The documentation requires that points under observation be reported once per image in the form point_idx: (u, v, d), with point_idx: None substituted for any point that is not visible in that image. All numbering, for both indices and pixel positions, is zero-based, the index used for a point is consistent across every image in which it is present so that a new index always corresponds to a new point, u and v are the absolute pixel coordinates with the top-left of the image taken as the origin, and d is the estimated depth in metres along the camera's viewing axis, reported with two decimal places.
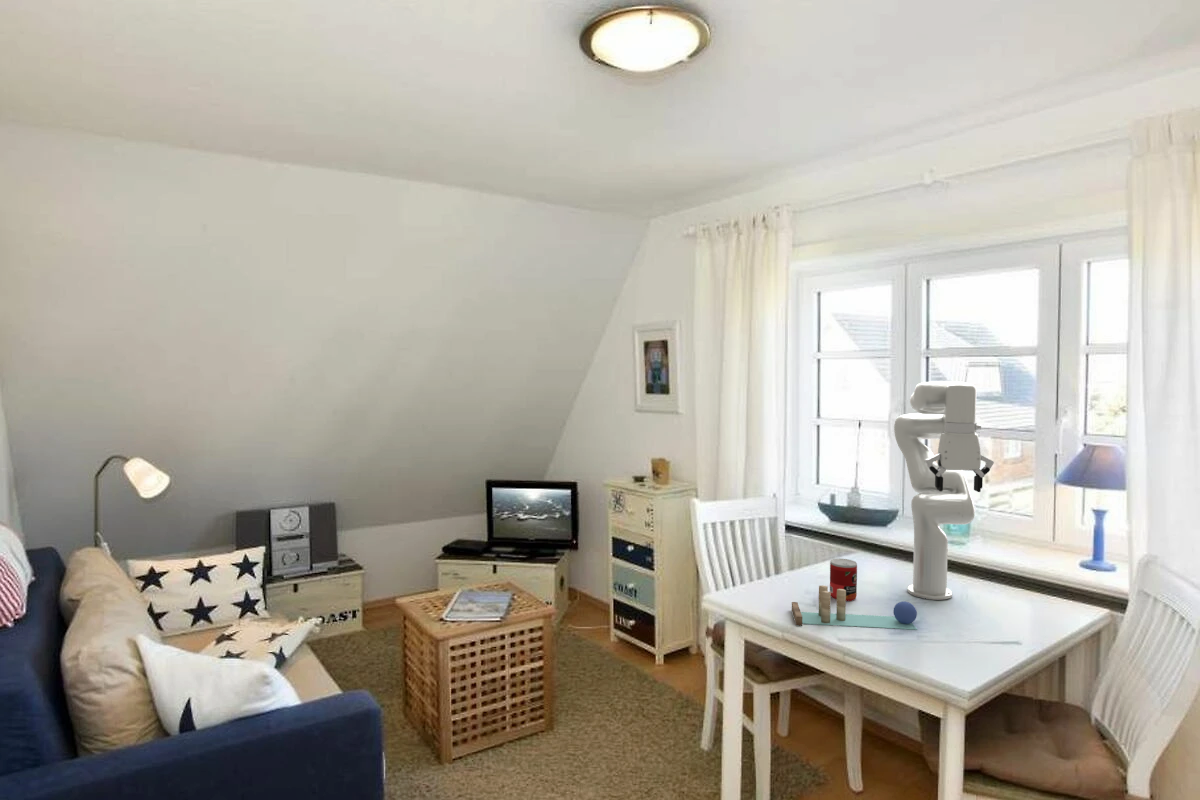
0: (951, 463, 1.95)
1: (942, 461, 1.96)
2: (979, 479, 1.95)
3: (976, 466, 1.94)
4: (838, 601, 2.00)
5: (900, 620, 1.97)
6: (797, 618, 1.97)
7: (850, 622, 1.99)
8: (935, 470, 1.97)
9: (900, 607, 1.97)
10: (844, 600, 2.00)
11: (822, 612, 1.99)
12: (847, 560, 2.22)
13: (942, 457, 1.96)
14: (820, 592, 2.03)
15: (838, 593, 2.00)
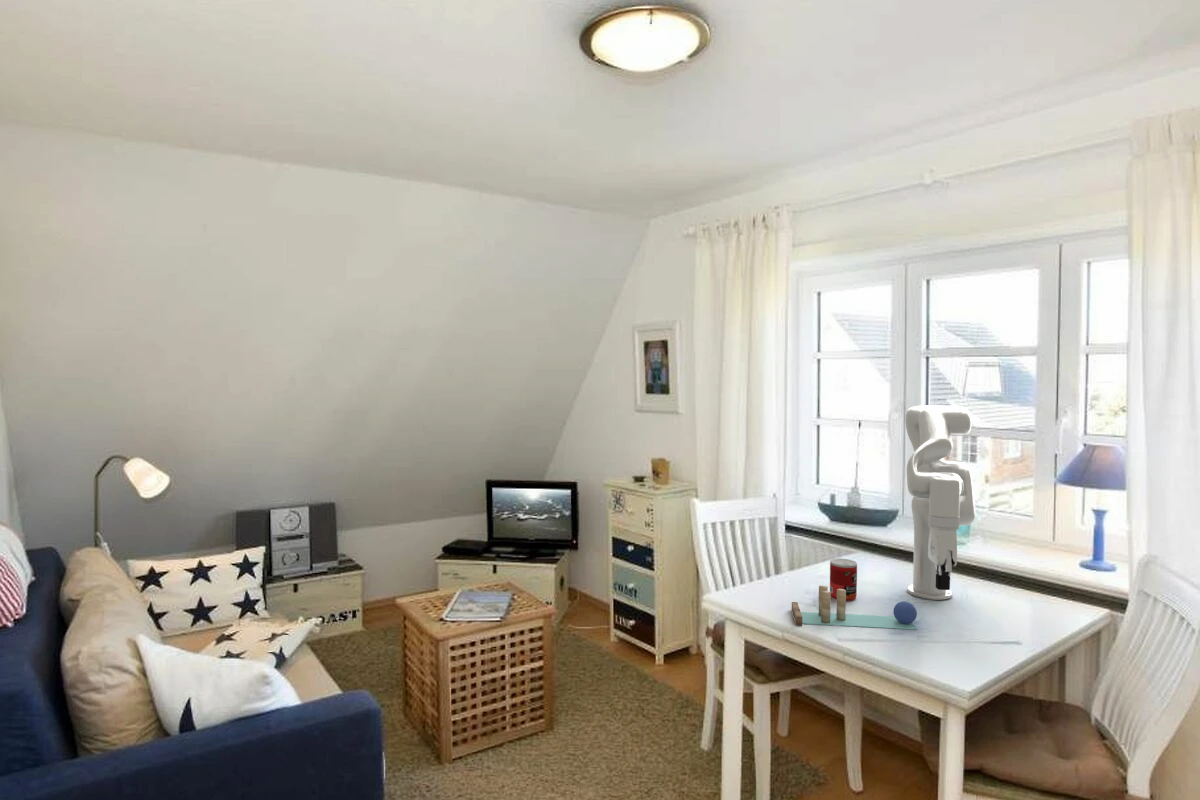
0: None
1: (956, 559, 1.90)
2: None
3: None
4: (838, 601, 2.00)
5: (900, 620, 1.97)
6: (797, 618, 1.97)
7: (850, 622, 1.99)
8: None
9: (900, 607, 1.97)
10: (844, 600, 2.00)
11: (822, 612, 1.99)
12: (847, 560, 2.22)
13: (956, 554, 1.90)
14: (820, 592, 2.03)
15: (838, 593, 2.00)
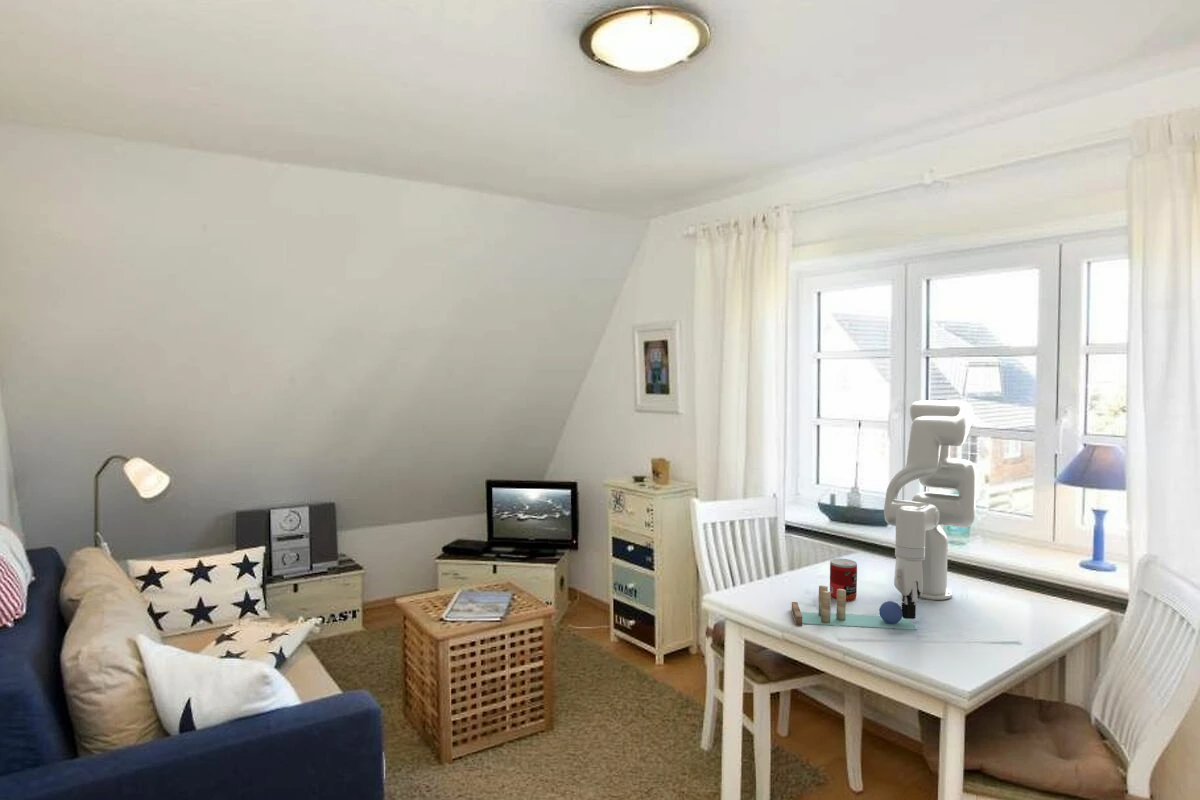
0: None
1: (921, 589, 1.92)
2: None
3: None
4: (838, 601, 2.00)
5: None
6: (797, 618, 1.97)
7: (850, 622, 1.99)
8: None
9: (883, 615, 1.97)
10: (844, 600, 2.00)
11: (822, 612, 1.99)
12: (847, 560, 2.22)
13: (921, 585, 1.92)
14: (820, 592, 2.03)
15: (838, 593, 2.00)
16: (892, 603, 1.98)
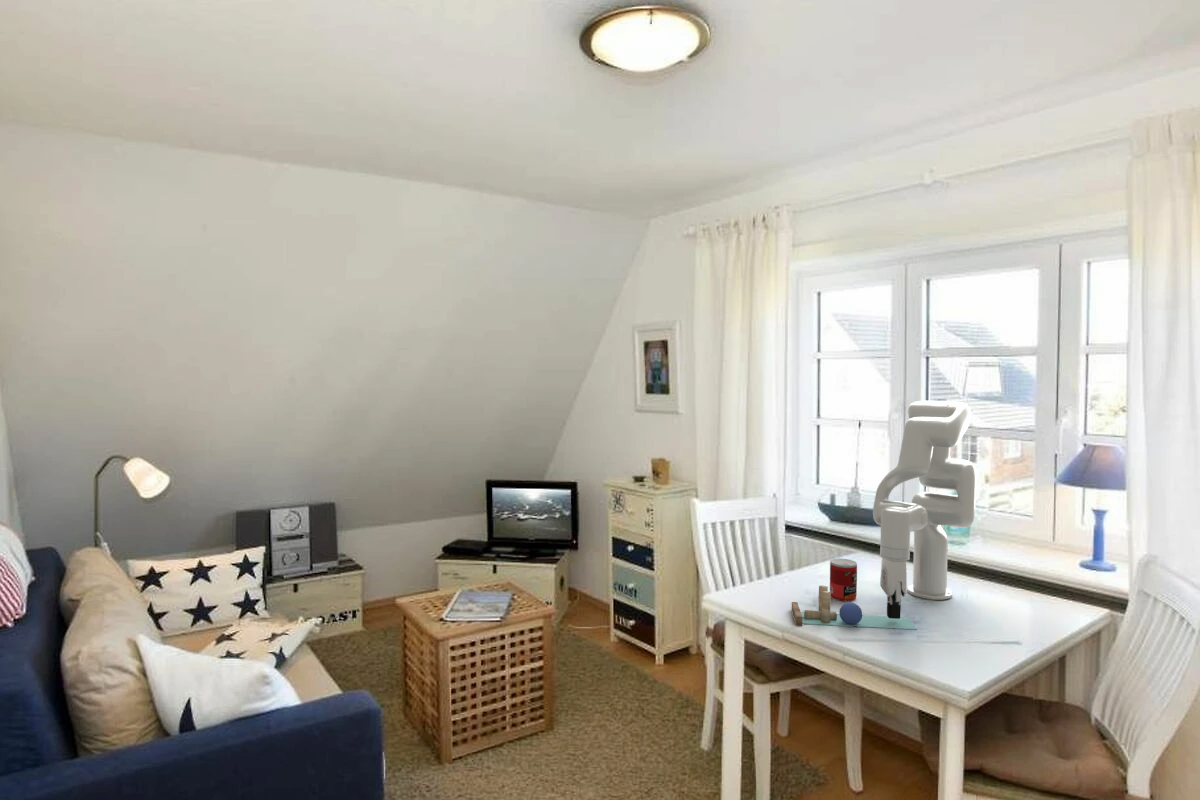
0: None
1: (905, 589, 1.93)
2: None
3: None
4: None
5: (848, 614, 1.95)
6: (797, 618, 1.97)
7: None
8: None
9: (860, 613, 1.96)
10: (814, 613, 2.01)
11: (822, 612, 1.99)
12: (847, 560, 2.22)
13: (905, 585, 1.93)
14: (820, 592, 2.03)
15: (807, 618, 2.02)
16: None
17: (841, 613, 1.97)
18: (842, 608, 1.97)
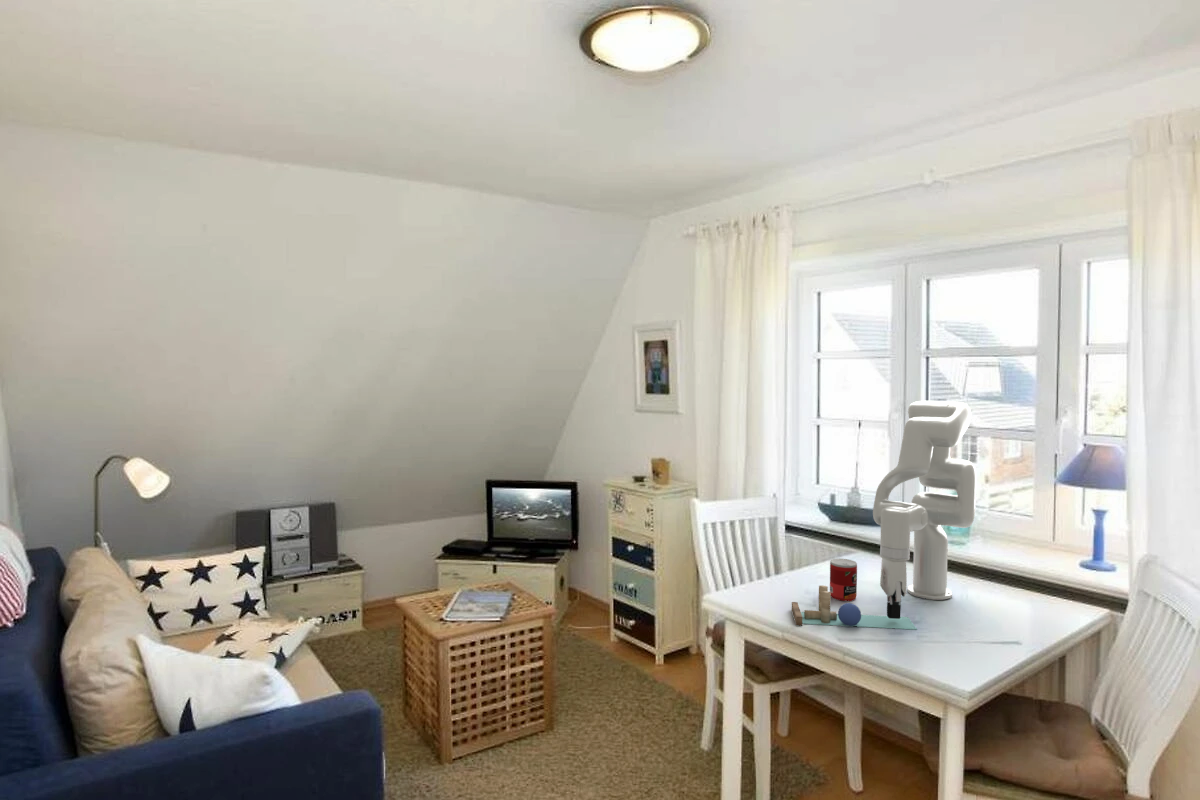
0: None
1: (905, 589, 1.93)
2: None
3: None
4: None
5: (846, 618, 1.95)
6: (797, 618, 1.97)
7: None
8: None
9: (859, 614, 1.95)
10: (814, 613, 2.01)
11: (822, 612, 1.99)
12: (847, 560, 2.22)
13: (905, 585, 1.93)
14: (820, 592, 2.03)
15: (807, 618, 2.02)
16: None
17: (840, 616, 1.96)
18: (840, 611, 1.96)
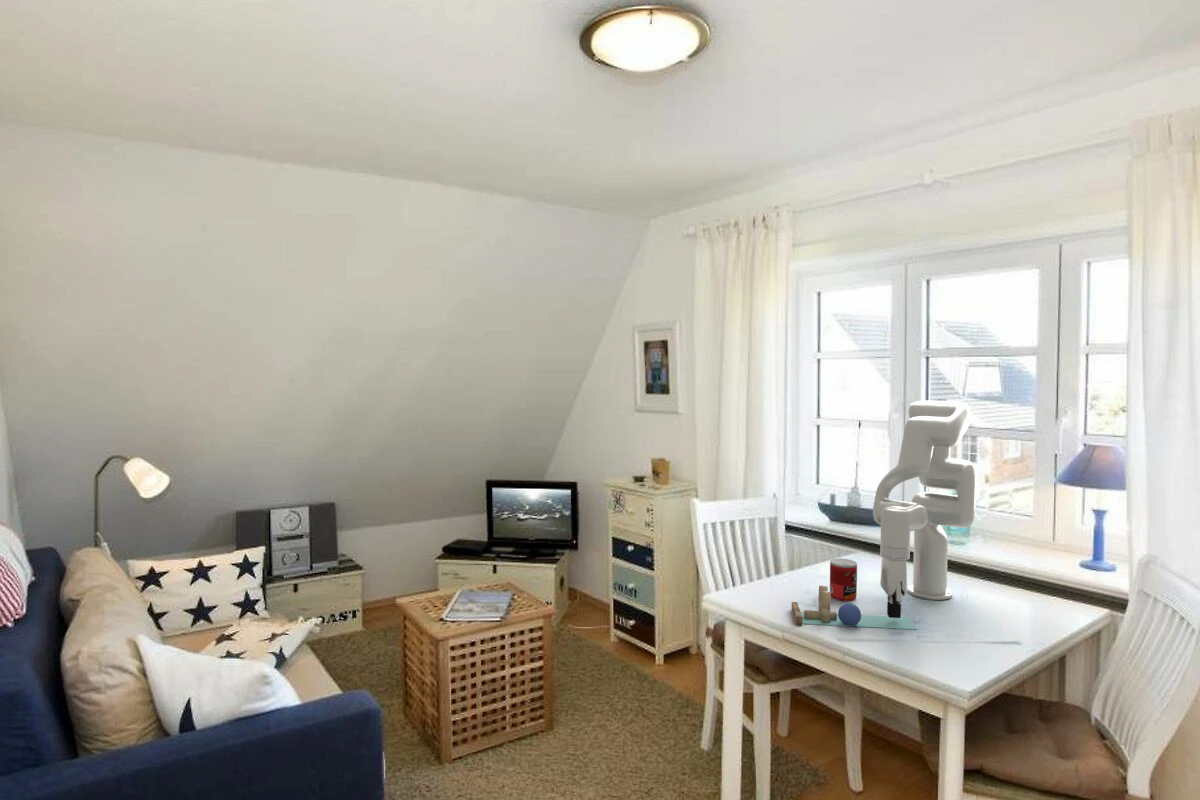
0: None
1: (905, 589, 1.93)
2: None
3: None
4: (816, 618, 2.01)
5: (846, 618, 1.95)
6: (797, 618, 1.97)
7: None
8: None
9: (859, 614, 1.95)
10: (814, 613, 2.01)
11: (822, 612, 1.99)
12: (847, 560, 2.22)
13: (905, 585, 1.93)
14: (820, 592, 2.03)
15: (807, 618, 2.02)
16: None
17: (840, 616, 1.96)
18: (840, 611, 1.96)
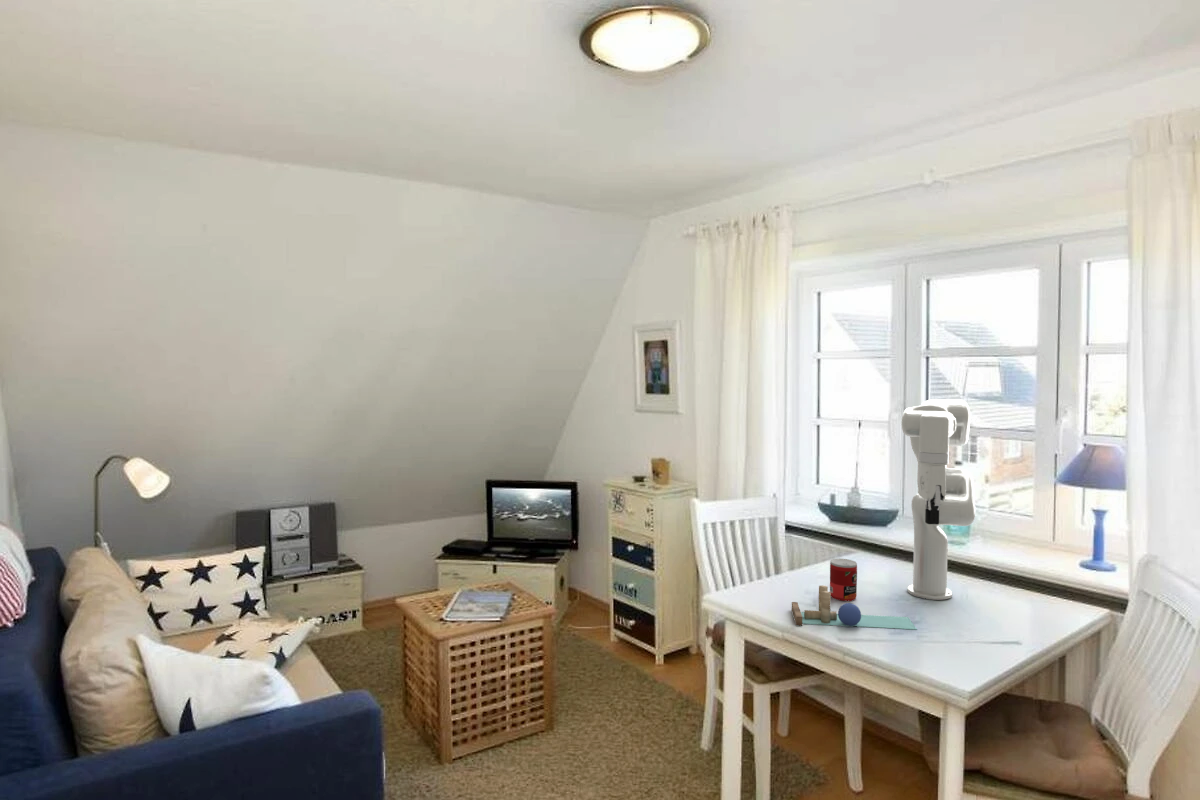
0: None
1: (944, 493, 1.95)
2: None
3: None
4: None
5: (846, 618, 1.95)
6: (797, 618, 1.97)
7: None
8: None
9: (859, 614, 1.95)
10: (814, 613, 2.01)
11: (822, 612, 1.99)
12: (847, 560, 2.22)
13: (944, 489, 1.95)
14: (820, 592, 2.03)
15: (807, 618, 2.02)
16: None
17: (840, 616, 1.96)
18: (840, 611, 1.96)
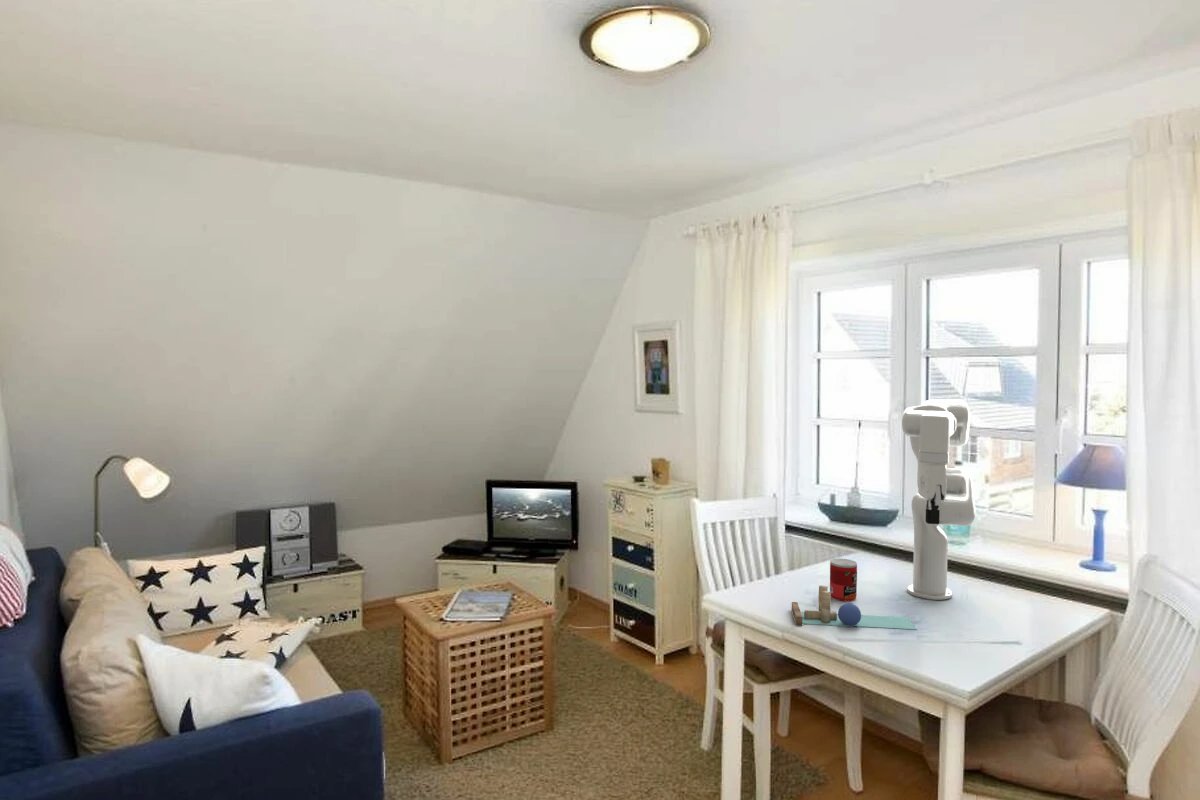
0: None
1: (945, 493, 1.95)
2: None
3: None
4: None
5: (846, 618, 1.95)
6: (797, 618, 1.97)
7: None
8: None
9: (859, 614, 1.95)
10: (814, 613, 2.01)
11: (822, 612, 1.99)
12: (847, 560, 2.22)
13: (945, 489, 1.95)
14: (820, 592, 2.03)
15: (807, 618, 2.02)
16: None
17: (840, 616, 1.96)
18: (840, 611, 1.96)
